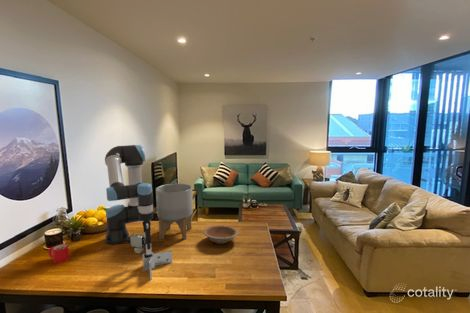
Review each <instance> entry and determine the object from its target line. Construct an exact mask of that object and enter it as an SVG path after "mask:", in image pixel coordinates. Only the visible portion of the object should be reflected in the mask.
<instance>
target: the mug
mask: <svg viewBox="0 0 470 313" xmlns="http://www.w3.org/2000/svg"><path fill="white" fill-rule="evenodd" d="M47 253H48V255H49V257H50V258H52V259H53V263H54V264H59V263H60V264H61V263H63V262H64V263H65V262H66V261H68V260H69V259H70V251H69V244H68V243H60V244H58V245H57V244H56V245H55V246H50V247H49V249H48V251H47Z"/></svg>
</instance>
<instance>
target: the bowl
mask: <svg viewBox="0 0 470 313" xmlns="http://www.w3.org/2000/svg"><path fill="white" fill-rule="evenodd" d="M202 233H203V235H204V236H206V237H207V238H208V239H209V240H210V241H211V242H213V243H216V244H218V245H222V244H227V243H228V242H230V241H232V240H233V239H234V238H235V237H237V236H238V235H239V230H238V229H237V228H235V227H234V226H229V225H225V224H224V225H223V224H222V225H221V224H220V225H211V226H208V227H206V228H204V229H203V231H202Z"/></svg>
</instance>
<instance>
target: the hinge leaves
mask: <svg viewBox="0 0 470 313" xmlns="http://www.w3.org/2000/svg"><path fill="white" fill-rule="evenodd" d="M172 252H173V251H172V249H171V250H167V251H163V252H156V253H154V251H152V254H151V257H147V258H146V252H145V253H142V267H143V272H144V271H148V274H149V279H150V281H152V280H153V272H152V270H154V269H155V268H156V266H162V265H167V264H171V263H173V253H172Z"/></svg>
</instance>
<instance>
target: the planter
mask: <svg viewBox="0 0 470 313" xmlns="http://www.w3.org/2000/svg"><path fill="white" fill-rule="evenodd" d="M155 195H156V196H155V198H156V200H155V201H156V215H157V217H158V232H159V236H158V237H159V240H164V239H165V233H166V232H167V230H169V231H170V230H171V227H172V226H171V225H172V224H174V223H176V224H177V226H178V228H179V230H180V233H181V239H182V240H184V241H185V240H187V230H188V231H190V230H192V215H193V213H194V212H193V211H194V210H193V209H194V205H193V186H192V185H191V184H187V183H180V182H179V183H176V182H175V183H168V184H162V185H160V186H157V187H156V189H155Z"/></svg>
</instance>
